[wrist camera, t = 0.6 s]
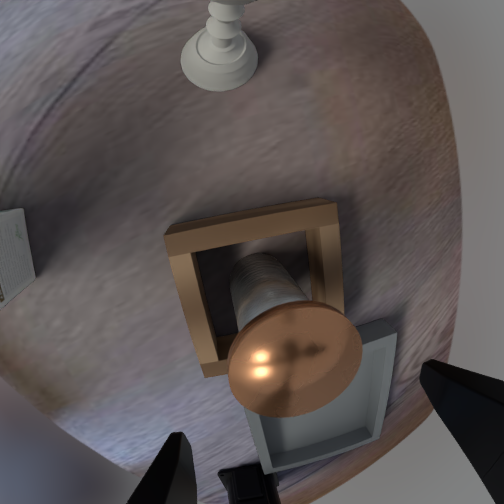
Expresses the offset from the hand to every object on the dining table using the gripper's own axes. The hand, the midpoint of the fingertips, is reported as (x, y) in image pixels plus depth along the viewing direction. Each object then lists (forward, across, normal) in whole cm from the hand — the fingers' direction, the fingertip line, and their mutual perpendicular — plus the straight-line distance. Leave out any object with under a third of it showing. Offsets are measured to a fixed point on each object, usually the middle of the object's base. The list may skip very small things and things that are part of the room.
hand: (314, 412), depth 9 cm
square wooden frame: (+12, 0, 0) cm, 12 cm away
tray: (+12, -4, +13) cm, 19 cm away
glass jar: (+12, 0, 0) cm, 12 cm away
